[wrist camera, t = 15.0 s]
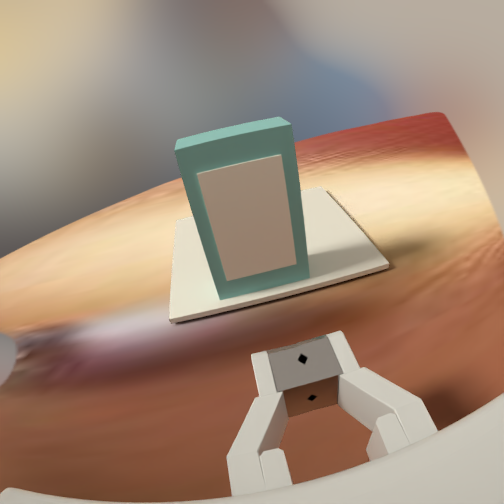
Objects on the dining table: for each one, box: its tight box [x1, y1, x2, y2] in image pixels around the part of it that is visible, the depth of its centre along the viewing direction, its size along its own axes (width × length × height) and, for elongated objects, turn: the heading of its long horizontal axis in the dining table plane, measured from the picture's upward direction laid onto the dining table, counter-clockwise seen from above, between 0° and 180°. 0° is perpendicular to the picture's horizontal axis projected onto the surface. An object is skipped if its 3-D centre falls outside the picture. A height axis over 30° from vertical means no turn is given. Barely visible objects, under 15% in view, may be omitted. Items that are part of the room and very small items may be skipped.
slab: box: [175, 117, 310, 300], centre depth 19 cm, size 6×3×10 cm, turn 99°
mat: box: [169, 186, 389, 323], centre depth 26 cm, size 15×14×1 cm
